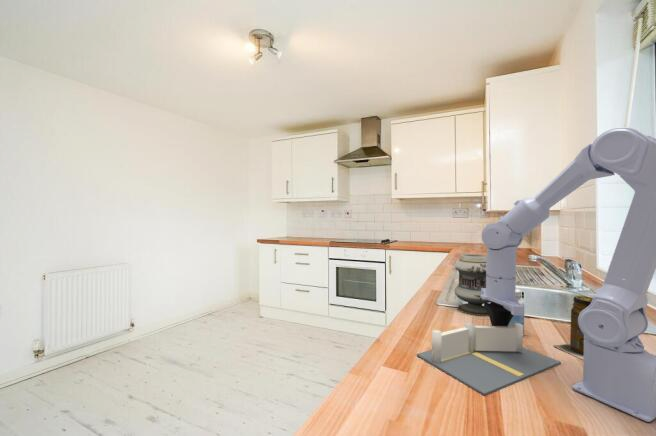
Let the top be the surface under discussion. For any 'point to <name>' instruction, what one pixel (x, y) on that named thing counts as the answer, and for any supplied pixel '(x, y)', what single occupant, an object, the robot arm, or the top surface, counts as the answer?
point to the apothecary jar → (472, 283)
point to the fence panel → (499, 338)
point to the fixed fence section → (452, 342)
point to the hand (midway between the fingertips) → (499, 336)
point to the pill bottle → (515, 318)
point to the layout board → (492, 367)
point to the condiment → (576, 328)
